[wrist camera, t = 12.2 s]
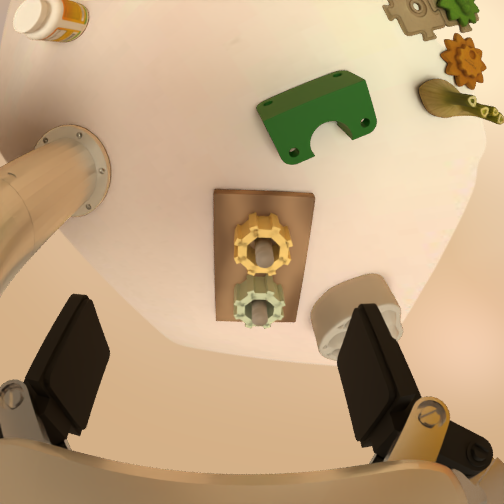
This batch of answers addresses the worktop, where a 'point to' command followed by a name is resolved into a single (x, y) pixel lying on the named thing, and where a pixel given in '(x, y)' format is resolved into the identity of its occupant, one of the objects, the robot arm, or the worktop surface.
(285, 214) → the gear board
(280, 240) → the mustard gear
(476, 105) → the fennel bulb
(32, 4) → the supplement bottle
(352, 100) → the clamp
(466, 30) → the gear puzzle
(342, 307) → the lumpy-topped squat cylinder
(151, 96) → the worktop surface
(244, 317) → the sage gear
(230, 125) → the worktop surface
